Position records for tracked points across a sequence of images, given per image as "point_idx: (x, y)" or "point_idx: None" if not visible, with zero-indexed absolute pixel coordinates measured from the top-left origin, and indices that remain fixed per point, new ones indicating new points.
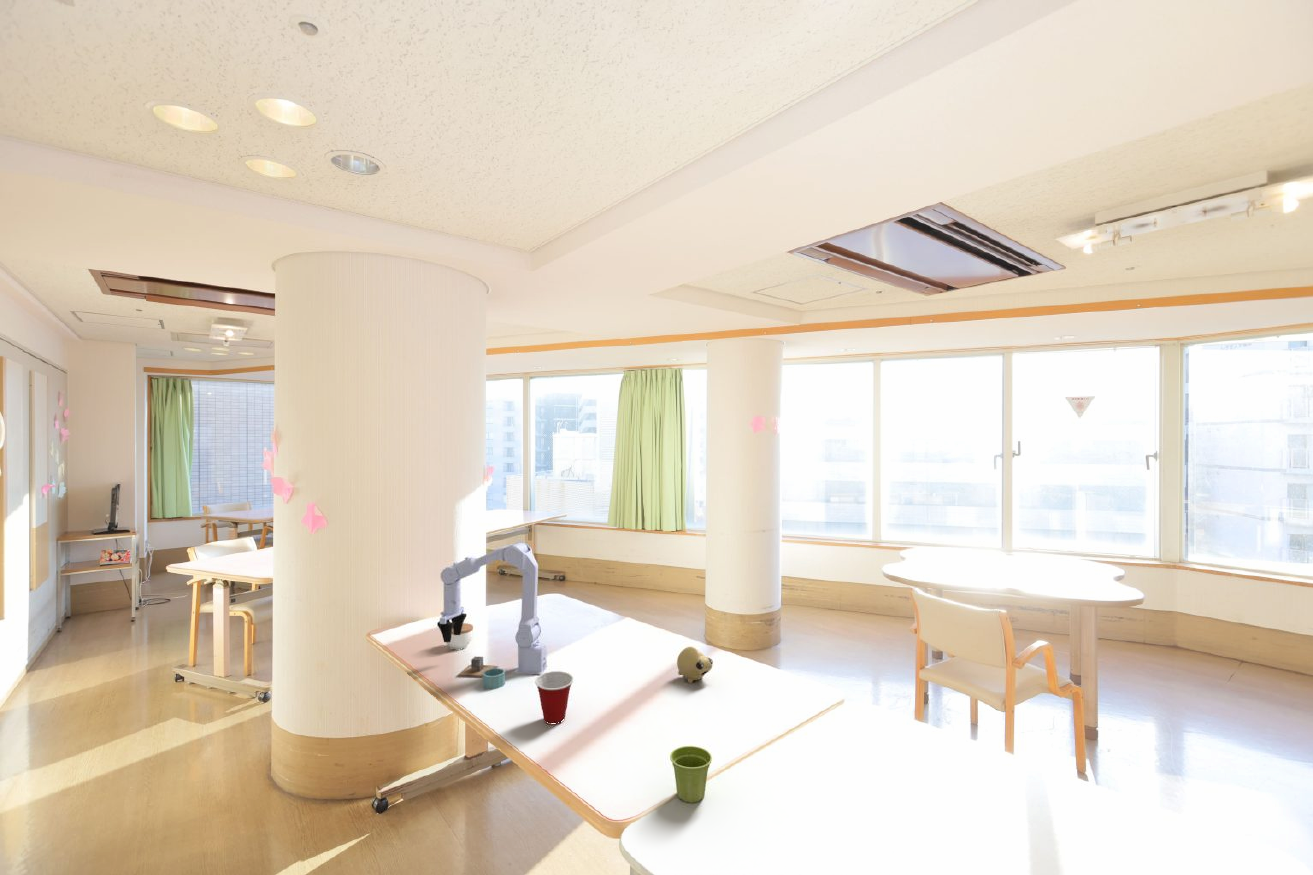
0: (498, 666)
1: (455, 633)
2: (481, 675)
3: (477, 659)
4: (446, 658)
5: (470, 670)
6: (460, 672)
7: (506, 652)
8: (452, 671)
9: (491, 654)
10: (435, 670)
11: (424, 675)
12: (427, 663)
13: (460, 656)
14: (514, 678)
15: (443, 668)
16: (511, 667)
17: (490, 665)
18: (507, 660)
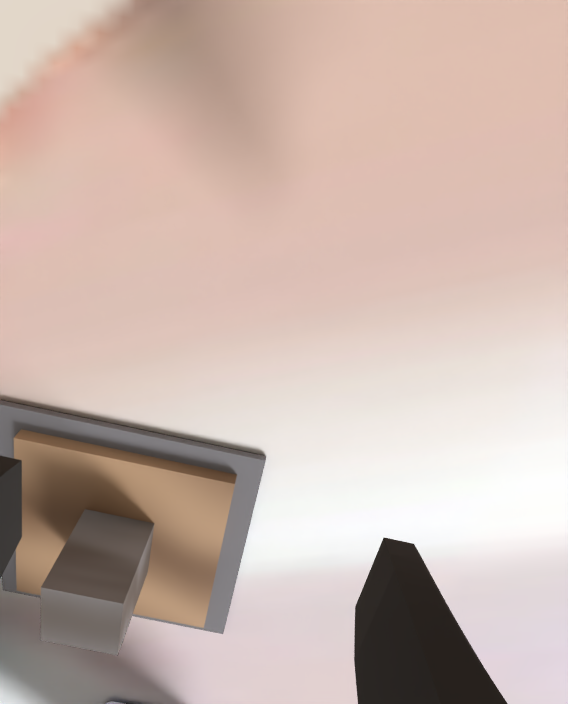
0: (218, 632)
1: (381, 577)
2: (18, 572)
3: (51, 625)
4: (526, 213)
5: (102, 501)
6: (97, 425)
7: (525, 650)
8: (142, 352)
9: (512, 571)
10: (168, 184)
11: (26, 100)
12: (403, 12)
13: (544, 346)
14: (40, 699)
15: (220, 254)
16: (213, 683)
17: (205, 605)
18: (347, 661)
